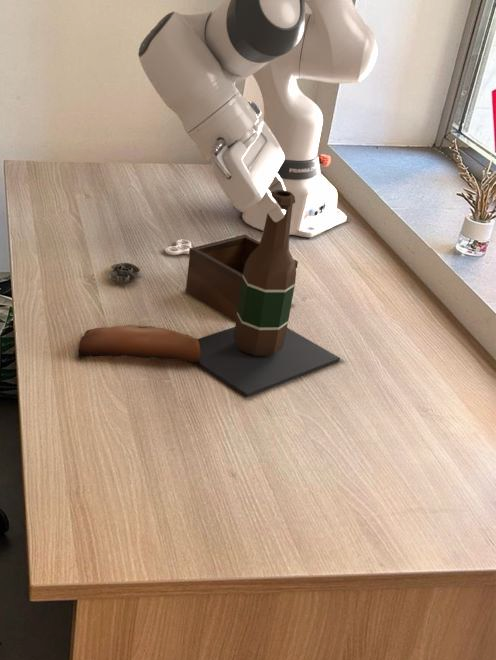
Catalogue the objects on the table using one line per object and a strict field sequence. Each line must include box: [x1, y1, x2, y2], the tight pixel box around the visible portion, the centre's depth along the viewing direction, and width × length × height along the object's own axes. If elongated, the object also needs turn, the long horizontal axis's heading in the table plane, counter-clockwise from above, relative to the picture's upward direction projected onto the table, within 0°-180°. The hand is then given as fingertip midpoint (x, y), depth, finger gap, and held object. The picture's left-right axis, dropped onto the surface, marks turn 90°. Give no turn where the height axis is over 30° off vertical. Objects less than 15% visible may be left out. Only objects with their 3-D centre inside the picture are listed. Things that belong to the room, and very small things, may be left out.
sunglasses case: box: [77, 324, 201, 364], centre depth 141 cm, size 18×7×7 cm
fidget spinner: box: [164, 239, 194, 256], centre depth 175 cm, size 7×6×1 cm
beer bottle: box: [234, 190, 297, 356], centre depth 139 cm, size 8×8×24 cm
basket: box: [185, 234, 299, 323], centre depth 159 cm, size 13×13×8 cm
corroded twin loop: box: [108, 262, 141, 286], centre depth 163 cm, size 5×8×1 cm, turn 173°
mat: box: [191, 326, 341, 398], centre depth 145 cm, size 20×16×1 cm
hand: (284, 212), depth 134 cm, fingers closed on beer bottle, 4 cm apart
